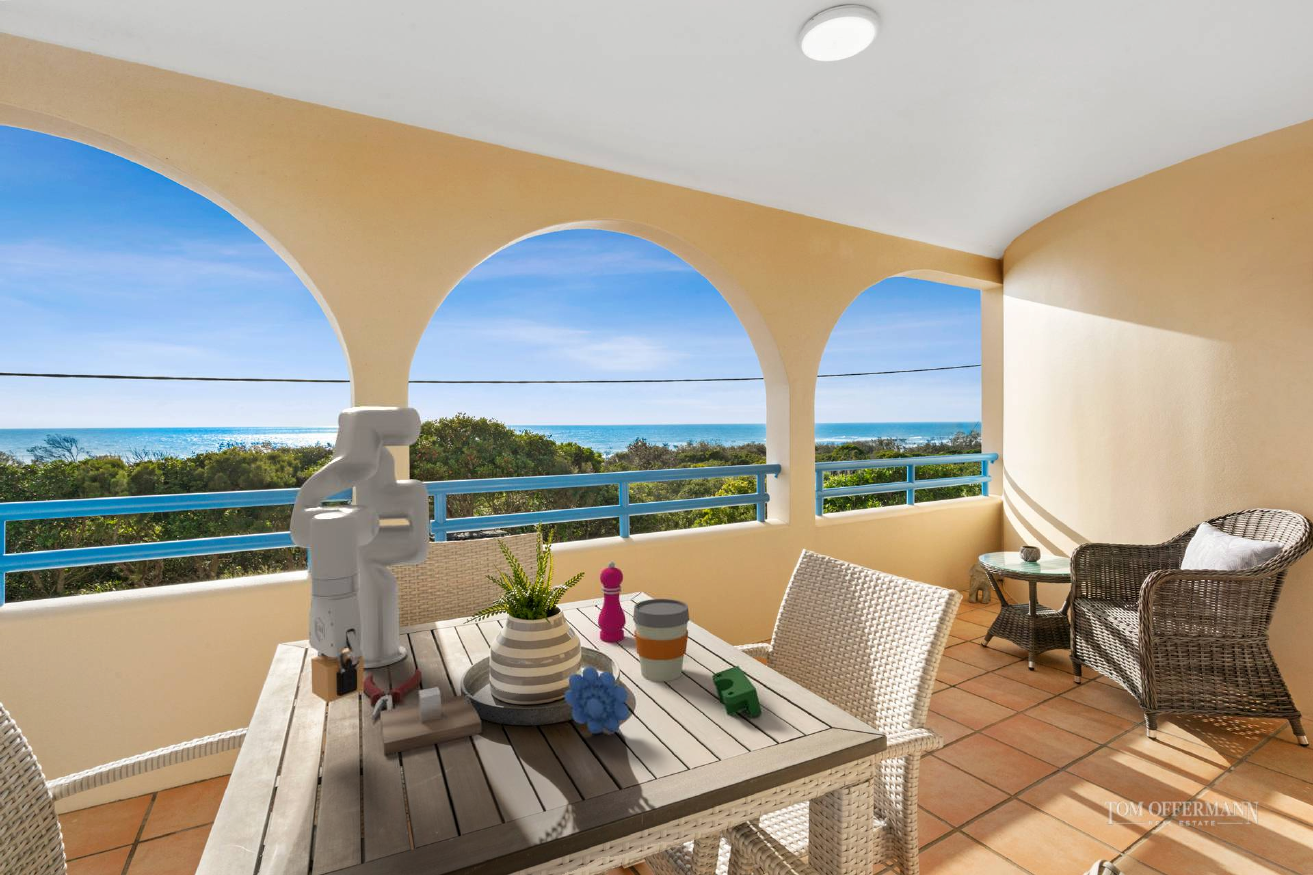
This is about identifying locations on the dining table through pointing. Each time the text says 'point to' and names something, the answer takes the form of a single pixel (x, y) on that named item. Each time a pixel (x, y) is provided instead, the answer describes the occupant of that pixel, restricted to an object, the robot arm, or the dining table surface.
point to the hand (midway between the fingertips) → (337, 686)
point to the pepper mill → (611, 605)
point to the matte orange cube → (331, 677)
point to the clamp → (736, 691)
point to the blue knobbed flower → (597, 700)
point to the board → (428, 722)
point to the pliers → (393, 696)
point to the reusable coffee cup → (661, 637)
